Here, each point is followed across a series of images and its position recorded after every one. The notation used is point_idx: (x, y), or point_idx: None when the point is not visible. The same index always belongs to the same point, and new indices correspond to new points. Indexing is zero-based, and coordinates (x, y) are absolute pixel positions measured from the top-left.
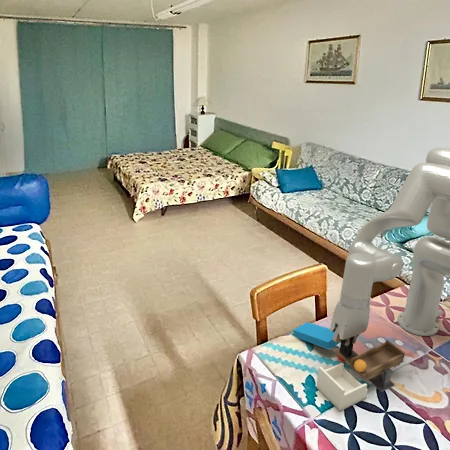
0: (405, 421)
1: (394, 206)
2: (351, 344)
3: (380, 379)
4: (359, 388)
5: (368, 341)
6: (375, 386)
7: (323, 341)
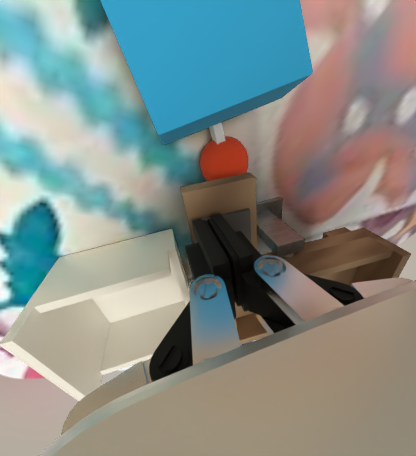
0: None
1: None
2: (245, 306)
3: None
4: None
5: (372, 94)
6: None
7: (138, 88)
